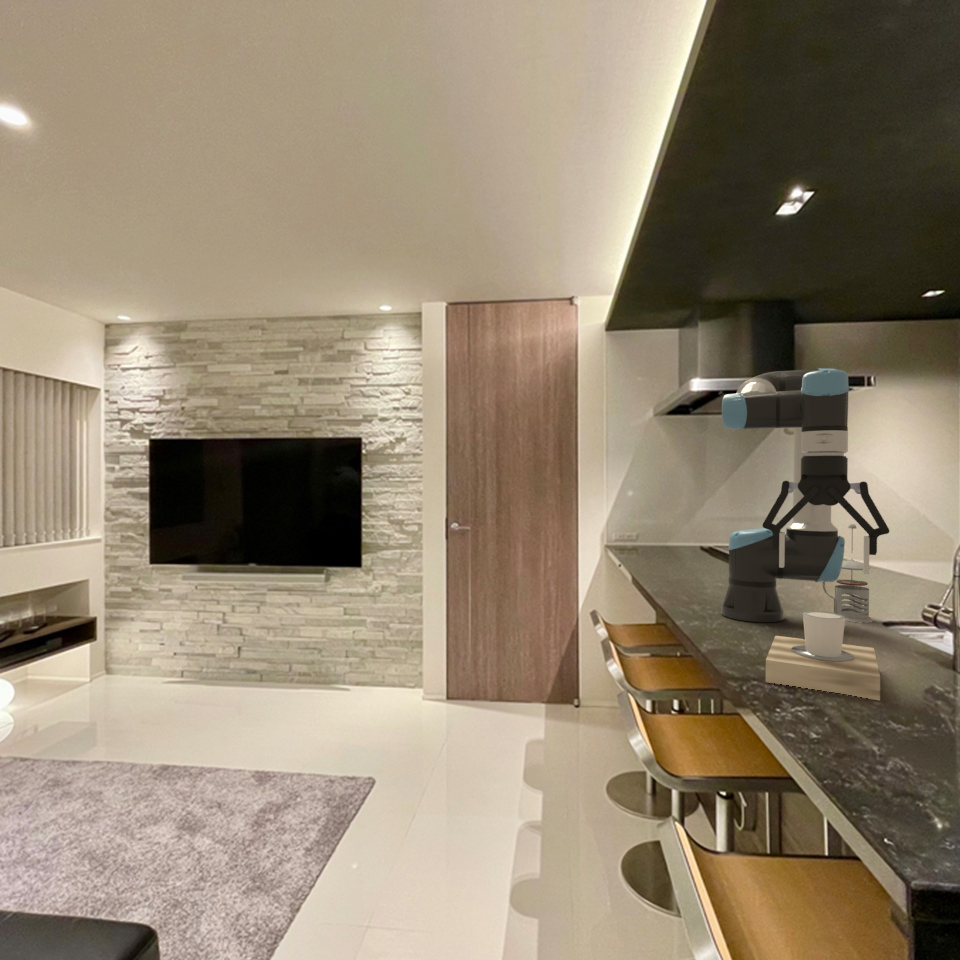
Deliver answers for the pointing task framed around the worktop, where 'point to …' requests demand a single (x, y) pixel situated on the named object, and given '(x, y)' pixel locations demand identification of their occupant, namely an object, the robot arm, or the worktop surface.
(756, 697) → the worktop surface
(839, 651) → the tapered cream cylinder
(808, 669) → the birch stand
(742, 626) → the worktop surface
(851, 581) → the french press
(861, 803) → the worktop surface
